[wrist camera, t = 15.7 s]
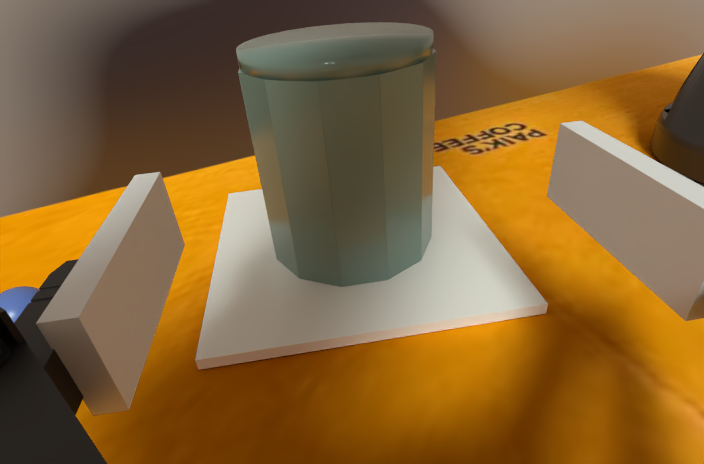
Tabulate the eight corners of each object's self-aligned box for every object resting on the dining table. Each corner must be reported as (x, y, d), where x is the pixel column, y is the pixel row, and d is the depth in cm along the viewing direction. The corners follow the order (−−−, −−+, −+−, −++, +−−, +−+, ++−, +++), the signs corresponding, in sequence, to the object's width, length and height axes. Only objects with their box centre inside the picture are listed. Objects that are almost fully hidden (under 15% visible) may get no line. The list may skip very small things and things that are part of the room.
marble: (75, 313, 23) (51, 271, 22) (52, 353, 21) (24, 309, 19) (19, 321, 23) (-8, 279, 22) (-10, 363, 21) (-43, 318, 19)
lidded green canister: (407, 192, 31) (405, 17, 25) (450, 270, 23) (462, 43, 17) (276, 210, 30) (242, 34, 24) (276, 296, 22) (227, 69, 16)
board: (440, 173, 34) (440, 165, 34) (546, 313, 21) (548, 303, 20) (230, 200, 33) (228, 193, 33) (198, 369, 19) (194, 360, 19)
